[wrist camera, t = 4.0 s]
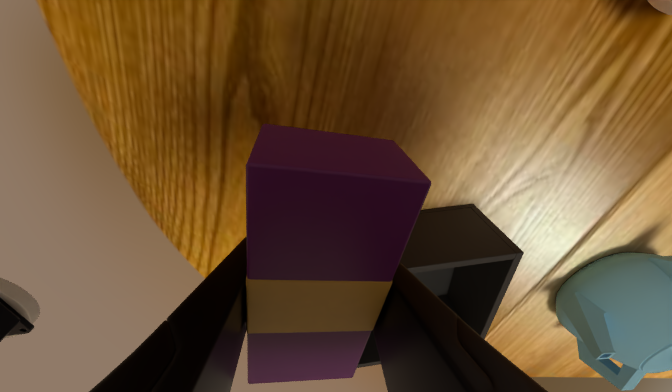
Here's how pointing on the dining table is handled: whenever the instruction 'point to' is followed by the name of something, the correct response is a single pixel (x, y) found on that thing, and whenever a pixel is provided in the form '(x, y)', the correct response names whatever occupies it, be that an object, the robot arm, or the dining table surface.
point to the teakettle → (621, 315)
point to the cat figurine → (662, 5)
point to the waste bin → (458, 265)
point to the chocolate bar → (322, 247)
